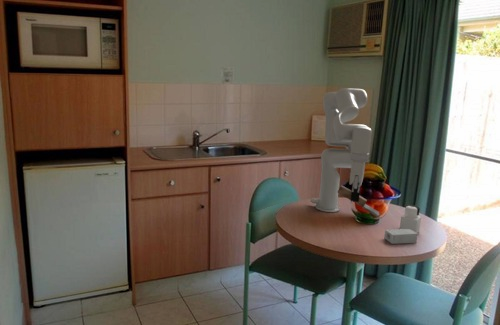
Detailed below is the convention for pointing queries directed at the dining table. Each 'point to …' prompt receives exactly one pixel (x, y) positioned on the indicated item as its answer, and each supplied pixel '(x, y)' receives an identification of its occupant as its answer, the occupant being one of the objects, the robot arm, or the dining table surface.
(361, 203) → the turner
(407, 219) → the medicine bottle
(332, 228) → the dining table surface
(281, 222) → the dining table surface
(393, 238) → the skincare box
